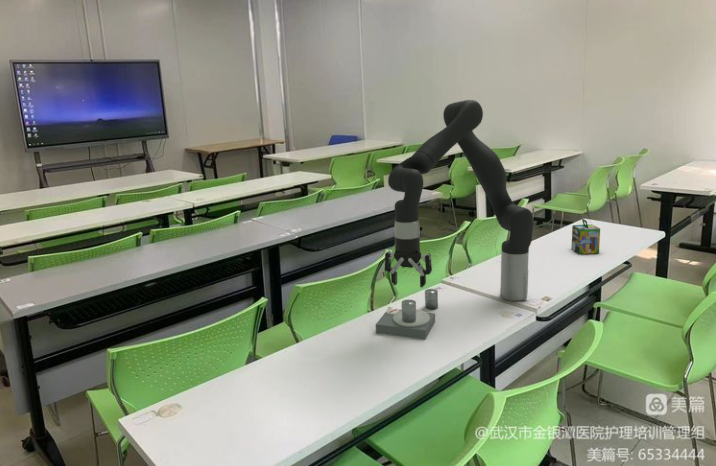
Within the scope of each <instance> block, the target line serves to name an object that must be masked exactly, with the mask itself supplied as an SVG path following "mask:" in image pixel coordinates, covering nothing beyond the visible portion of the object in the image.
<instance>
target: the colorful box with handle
mask: <svg viewBox="0 0 716 466" xmlns="http://www.w3.org/2000/svg"><path fill="white" fill-rule="evenodd" d="M581 221H582V224H572V230H571V246H570V247H571V250H572V251H573V250H574V253H576V254H577V253H578V254H577V255H579V254H581V255H590V254H591V255H592V254H593V255H594V254H600V245H601V244H600V239H601V228H600V227H598V226H596V225H594V224H588V221H587V220H586V219H584V218H581Z"/></svg>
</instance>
